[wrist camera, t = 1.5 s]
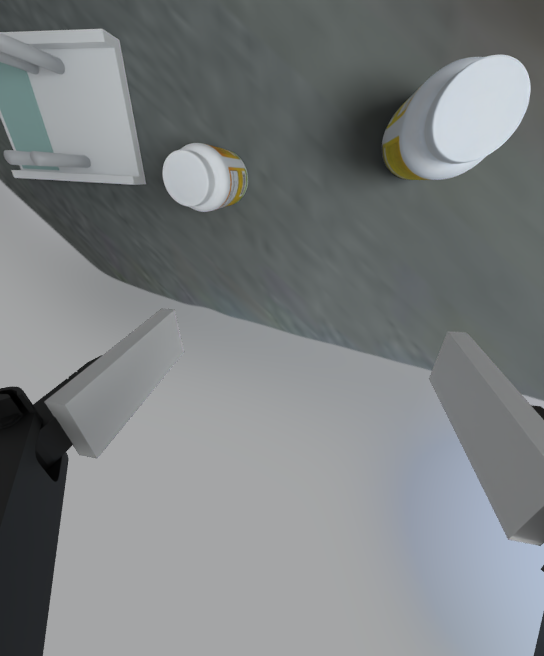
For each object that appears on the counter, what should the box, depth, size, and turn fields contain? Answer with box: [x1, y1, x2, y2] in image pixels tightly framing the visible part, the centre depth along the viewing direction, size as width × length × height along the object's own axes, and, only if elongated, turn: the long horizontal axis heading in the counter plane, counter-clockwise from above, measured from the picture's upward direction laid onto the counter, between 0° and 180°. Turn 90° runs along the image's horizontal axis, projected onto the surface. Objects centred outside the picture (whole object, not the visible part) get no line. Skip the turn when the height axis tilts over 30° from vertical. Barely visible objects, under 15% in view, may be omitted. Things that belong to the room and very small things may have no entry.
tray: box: [0, 29, 146, 185], centre depth 26 cm, size 16×12×7 cm
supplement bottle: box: [163, 143, 248, 212], centre depth 25 cm, size 5×5×10 cm
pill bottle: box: [382, 55, 530, 180], centre depth 19 cm, size 6×6×12 cm
